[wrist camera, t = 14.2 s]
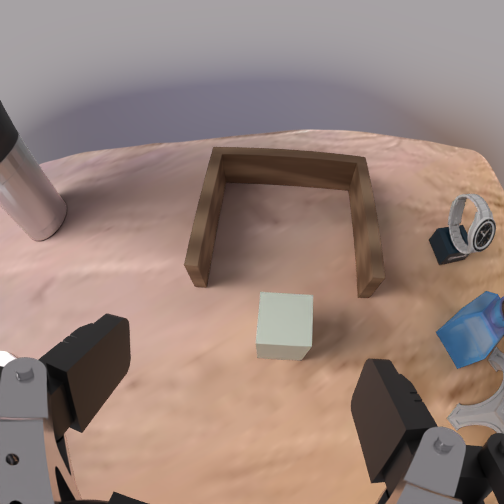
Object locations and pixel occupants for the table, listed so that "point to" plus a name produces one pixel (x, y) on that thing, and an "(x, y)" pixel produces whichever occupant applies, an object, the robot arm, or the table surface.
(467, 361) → the perfume bottle
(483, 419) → the eiffel tower
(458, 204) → the watch
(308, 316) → the sage block
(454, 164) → the table surface
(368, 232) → the walnut u-shaped frame
